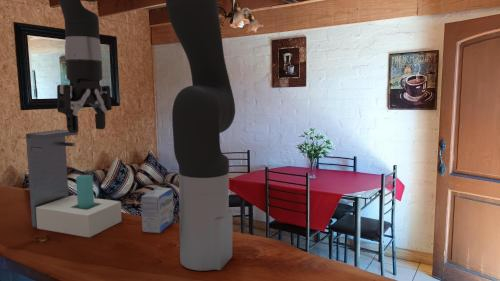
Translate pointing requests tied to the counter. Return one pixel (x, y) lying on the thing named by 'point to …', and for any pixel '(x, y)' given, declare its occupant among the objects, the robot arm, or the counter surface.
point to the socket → (78, 216)
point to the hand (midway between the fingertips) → (87, 130)
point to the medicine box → (157, 210)
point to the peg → (85, 192)
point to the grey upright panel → (47, 167)
